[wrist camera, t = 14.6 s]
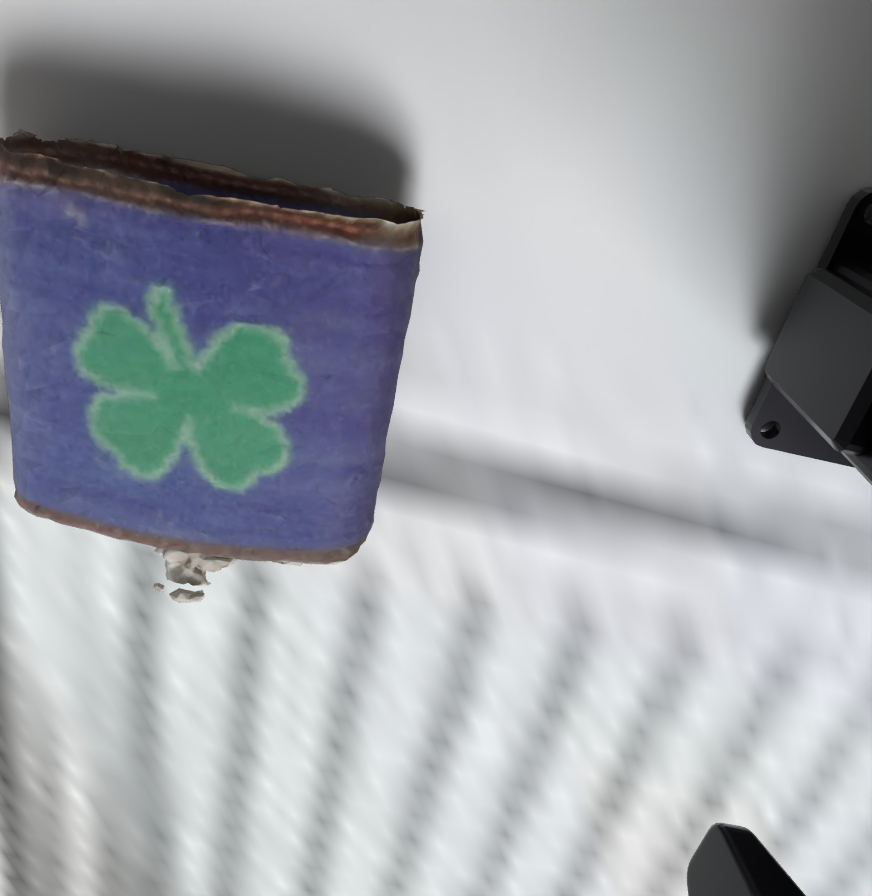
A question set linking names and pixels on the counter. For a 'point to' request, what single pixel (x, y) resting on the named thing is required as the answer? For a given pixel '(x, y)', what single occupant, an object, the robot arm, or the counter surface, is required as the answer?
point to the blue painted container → (199, 352)
